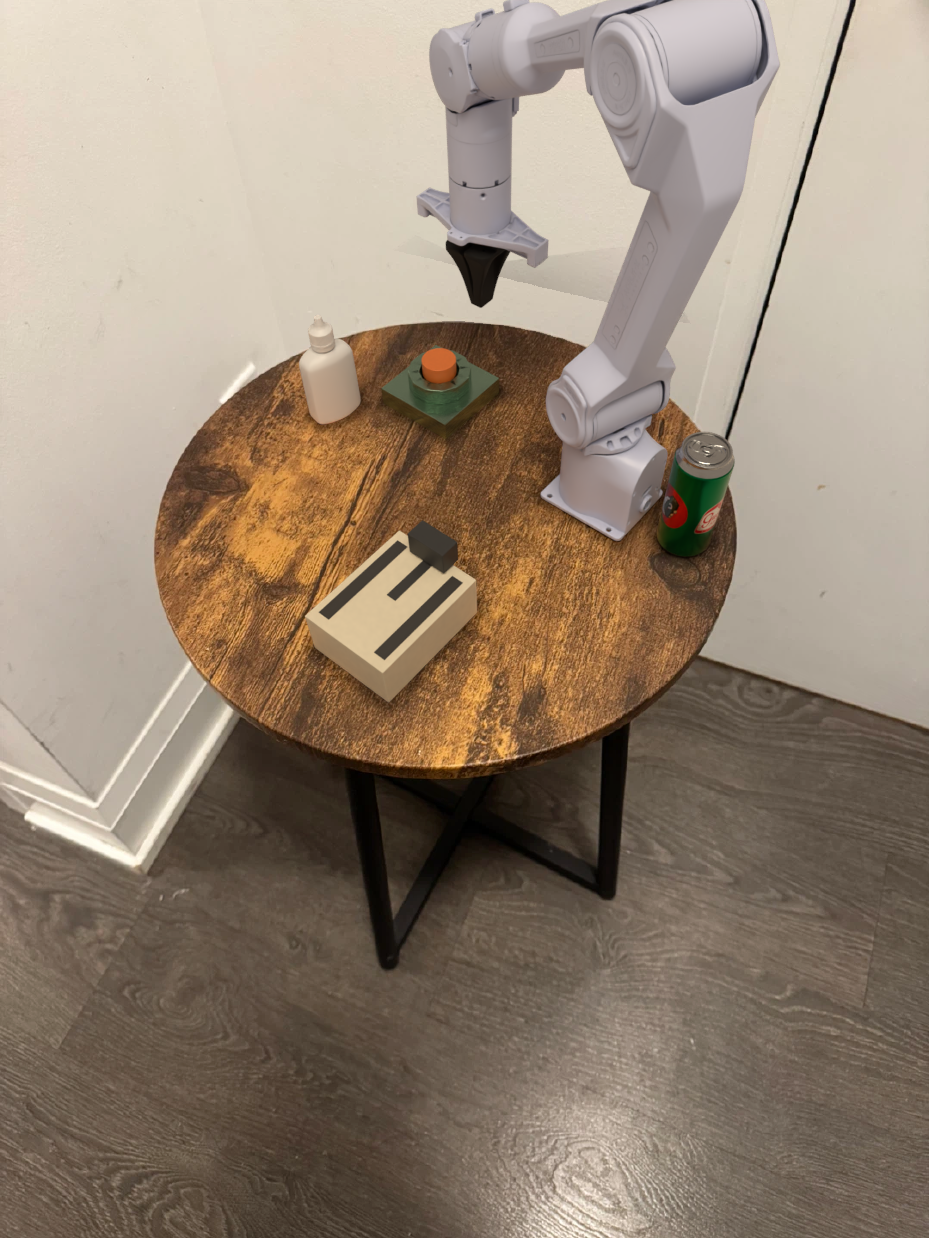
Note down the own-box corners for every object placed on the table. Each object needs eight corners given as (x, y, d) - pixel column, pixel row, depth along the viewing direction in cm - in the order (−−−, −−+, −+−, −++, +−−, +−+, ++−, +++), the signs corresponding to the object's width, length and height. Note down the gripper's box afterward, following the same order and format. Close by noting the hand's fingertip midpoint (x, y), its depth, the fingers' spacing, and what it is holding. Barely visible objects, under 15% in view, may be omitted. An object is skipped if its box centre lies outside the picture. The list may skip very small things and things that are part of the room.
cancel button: (463, 370, 94) (463, 357, 93) (441, 388, 93) (440, 375, 91) (437, 356, 96) (436, 343, 94) (415, 374, 94) (414, 361, 93)
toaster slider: (458, 559, 78) (457, 541, 76) (443, 574, 77) (442, 556, 75) (424, 537, 79) (422, 519, 77) (409, 551, 79) (407, 533, 77)
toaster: (481, 608, 81) (480, 575, 77) (388, 703, 76) (382, 672, 72) (407, 560, 85) (403, 526, 81) (314, 647, 79) (304, 615, 75)
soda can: (697, 568, 83) (724, 479, 73) (647, 547, 85) (667, 458, 75) (717, 531, 86) (746, 440, 76) (667, 512, 87) (690, 420, 77)
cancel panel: (499, 393, 97) (499, 364, 94) (446, 440, 94) (444, 411, 90) (436, 360, 101) (434, 331, 97) (383, 403, 97) (379, 374, 94)
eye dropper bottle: (308, 400, 98) (287, 307, 88) (359, 393, 98) (344, 299, 88) (311, 427, 95) (289, 335, 85) (363, 420, 96) (348, 327, 86)
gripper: (390, 165, 81) (403, 293, 93) (516, 220, 76) (513, 349, 87) (440, 132, 84) (447, 261, 95) (565, 183, 79) (556, 313, 90)
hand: (481, 301), depth 91 cm, fingers closed
